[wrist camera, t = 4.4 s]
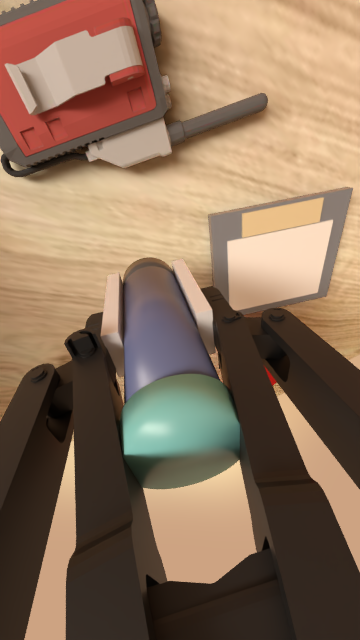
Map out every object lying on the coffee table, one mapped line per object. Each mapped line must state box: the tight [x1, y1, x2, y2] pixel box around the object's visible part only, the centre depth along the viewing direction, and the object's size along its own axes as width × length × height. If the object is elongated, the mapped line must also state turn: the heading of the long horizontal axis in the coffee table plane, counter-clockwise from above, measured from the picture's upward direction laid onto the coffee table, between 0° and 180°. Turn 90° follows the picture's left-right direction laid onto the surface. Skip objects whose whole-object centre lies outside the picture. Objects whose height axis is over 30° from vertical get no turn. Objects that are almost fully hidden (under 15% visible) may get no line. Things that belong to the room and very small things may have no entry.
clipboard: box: [208, 187, 353, 315], centre depth 26 cm, size 14×12×1 cm
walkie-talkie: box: [0, 0, 268, 177], centre depth 15 cm, size 9×4×20 cm
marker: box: [120, 258, 240, 489], centre depth 12 cm, size 4×4×12 cm
